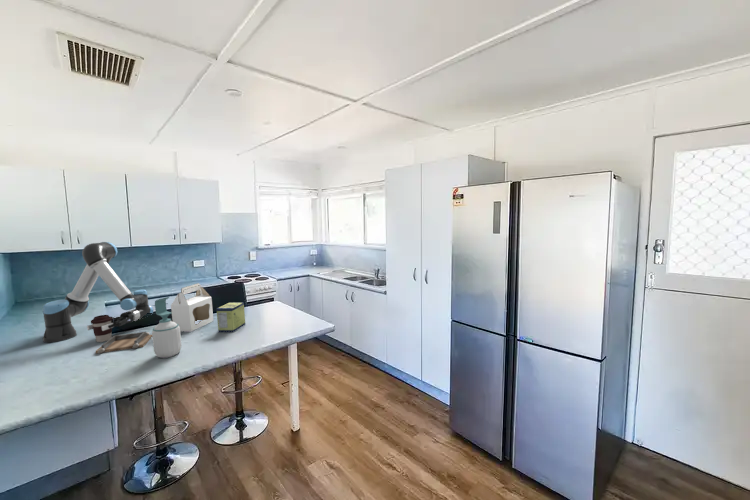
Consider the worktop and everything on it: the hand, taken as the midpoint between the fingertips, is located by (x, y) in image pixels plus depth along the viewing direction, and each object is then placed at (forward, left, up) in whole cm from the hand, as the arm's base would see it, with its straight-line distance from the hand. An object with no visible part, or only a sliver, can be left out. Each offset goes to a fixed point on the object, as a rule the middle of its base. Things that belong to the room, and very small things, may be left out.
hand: (95, 328), depth 191 cm
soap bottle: (+46, -38, -9) cm, 61 cm away
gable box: (+50, +10, -9) cm, 52 cm away
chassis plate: (+18, -11, -9) cm, 23 cm away
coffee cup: (+2, +4, -9) cm, 10 cm away
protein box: (+75, -7, -9) cm, 76 cm away
